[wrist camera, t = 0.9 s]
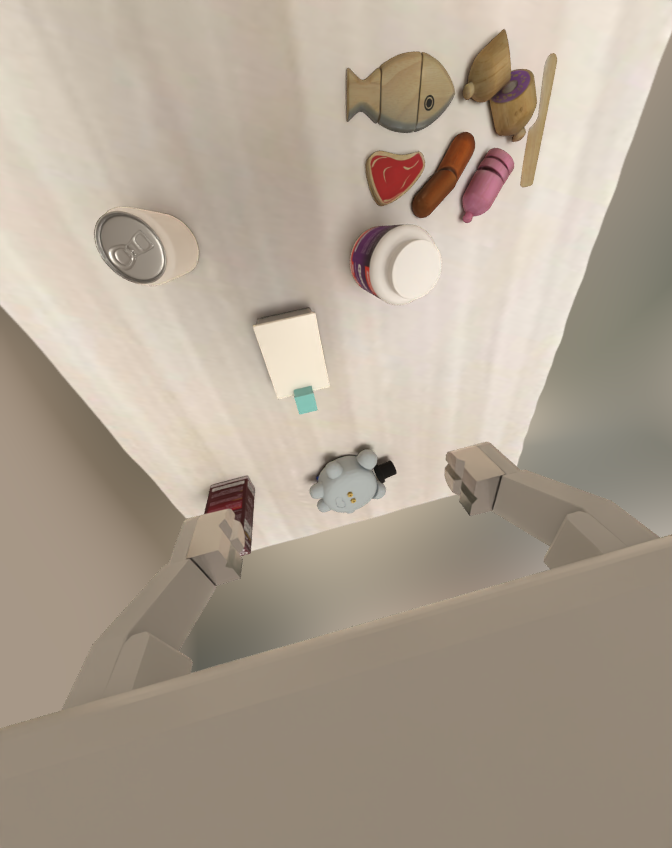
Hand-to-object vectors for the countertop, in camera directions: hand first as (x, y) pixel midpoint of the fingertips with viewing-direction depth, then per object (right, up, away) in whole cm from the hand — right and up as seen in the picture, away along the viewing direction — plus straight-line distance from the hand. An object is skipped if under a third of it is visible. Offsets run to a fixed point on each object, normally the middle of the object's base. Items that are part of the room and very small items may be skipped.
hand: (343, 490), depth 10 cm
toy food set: (+14, +38, +24) cm, 47 cm away
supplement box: (-23, -12, +50) cm, 57 cm away
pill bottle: (+5, +27, +29) cm, 40 cm away
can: (-21, +25, +24) cm, 41 cm away
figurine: (+3, -9, +55) cm, 56 cm away
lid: (-7, +12, +32) cm, 35 cm away
